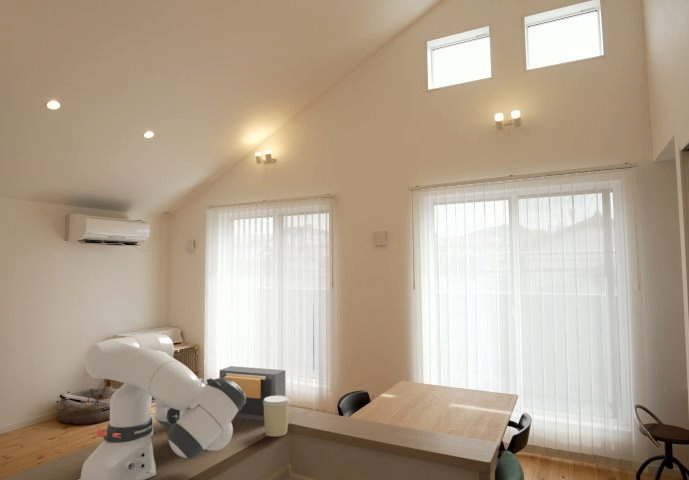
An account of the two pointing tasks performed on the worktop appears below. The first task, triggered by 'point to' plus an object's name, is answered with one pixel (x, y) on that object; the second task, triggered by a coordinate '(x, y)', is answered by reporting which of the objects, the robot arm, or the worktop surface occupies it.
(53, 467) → the worktop surface
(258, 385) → the panel
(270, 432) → the coffee cup
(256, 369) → the grey rectangular box
